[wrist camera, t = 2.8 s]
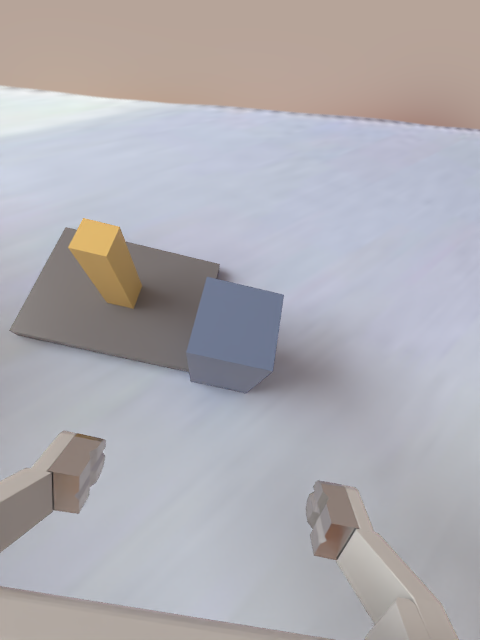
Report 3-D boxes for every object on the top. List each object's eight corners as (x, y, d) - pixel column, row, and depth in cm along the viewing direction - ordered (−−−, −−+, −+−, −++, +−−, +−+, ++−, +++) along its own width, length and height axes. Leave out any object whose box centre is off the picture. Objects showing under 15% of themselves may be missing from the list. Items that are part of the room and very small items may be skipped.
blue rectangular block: (255, 340, 25) (283, 294, 17) (246, 393, 23) (272, 371, 15) (203, 328, 24) (206, 276, 16) (190, 381, 23) (186, 352, 14)
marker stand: (218, 270, 27) (227, 203, 19) (192, 372, 23) (189, 342, 15) (70, 234, 26) (15, 149, 18) (17, 334, 22) (-82, 281, 14)
